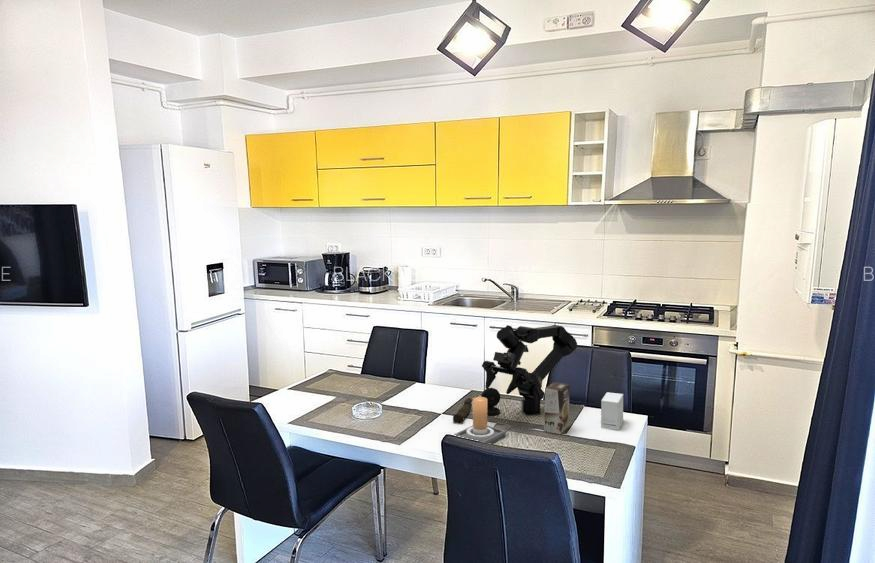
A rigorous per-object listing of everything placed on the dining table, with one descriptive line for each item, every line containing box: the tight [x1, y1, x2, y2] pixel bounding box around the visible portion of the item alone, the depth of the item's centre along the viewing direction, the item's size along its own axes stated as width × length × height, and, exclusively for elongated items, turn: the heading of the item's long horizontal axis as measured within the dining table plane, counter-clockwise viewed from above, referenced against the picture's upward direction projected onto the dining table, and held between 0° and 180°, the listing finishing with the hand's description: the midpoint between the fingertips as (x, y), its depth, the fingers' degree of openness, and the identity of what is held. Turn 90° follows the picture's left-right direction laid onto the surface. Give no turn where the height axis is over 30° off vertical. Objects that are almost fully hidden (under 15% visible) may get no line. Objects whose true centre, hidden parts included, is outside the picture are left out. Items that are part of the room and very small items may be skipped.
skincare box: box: [600, 391, 624, 431], centre depth 207 cm, size 10×6×10 cm, turn 152°
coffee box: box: [543, 381, 570, 435], centre depth 203 cm, size 9×6×16 cm
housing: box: [453, 424, 507, 445], centre depth 196 cm, size 14×12×2 cm
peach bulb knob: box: [472, 396, 488, 435], centre depth 195 cm, size 5×5×13 cm
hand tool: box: [452, 397, 473, 425], centre depth 218 cm, size 19×4×5 cm, turn 160°
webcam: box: [480, 387, 501, 417], centre depth 220 cm, size 8×8×10 cm
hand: (496, 391), depth 204 cm, fingers open, 9 cm apart
